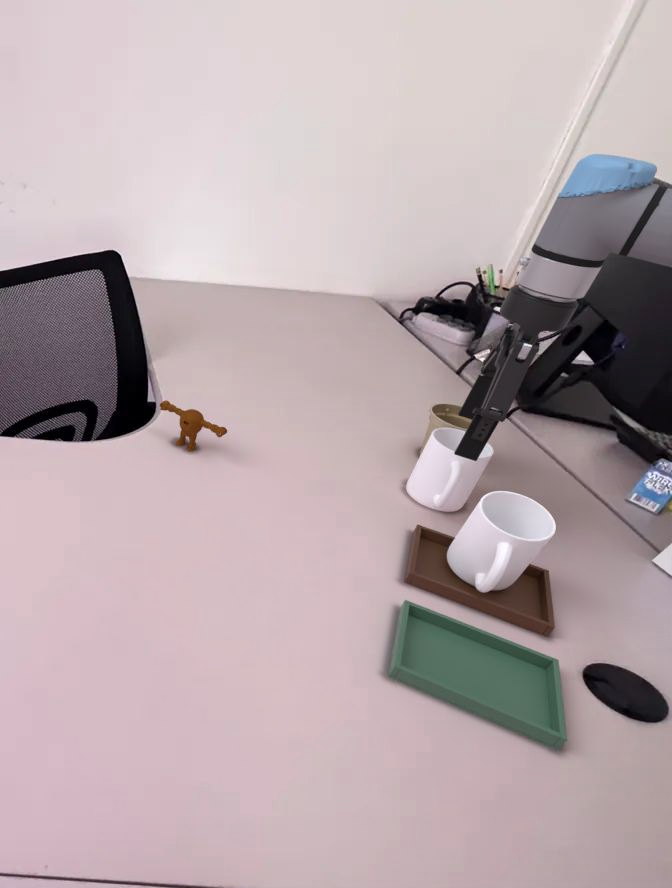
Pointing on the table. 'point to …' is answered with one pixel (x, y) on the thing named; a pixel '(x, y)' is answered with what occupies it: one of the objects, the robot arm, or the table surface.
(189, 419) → the toy figurine
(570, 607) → the table surface
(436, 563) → the walnut tray
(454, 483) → the cup
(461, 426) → the flower pot
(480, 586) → the mug
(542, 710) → the green tray
